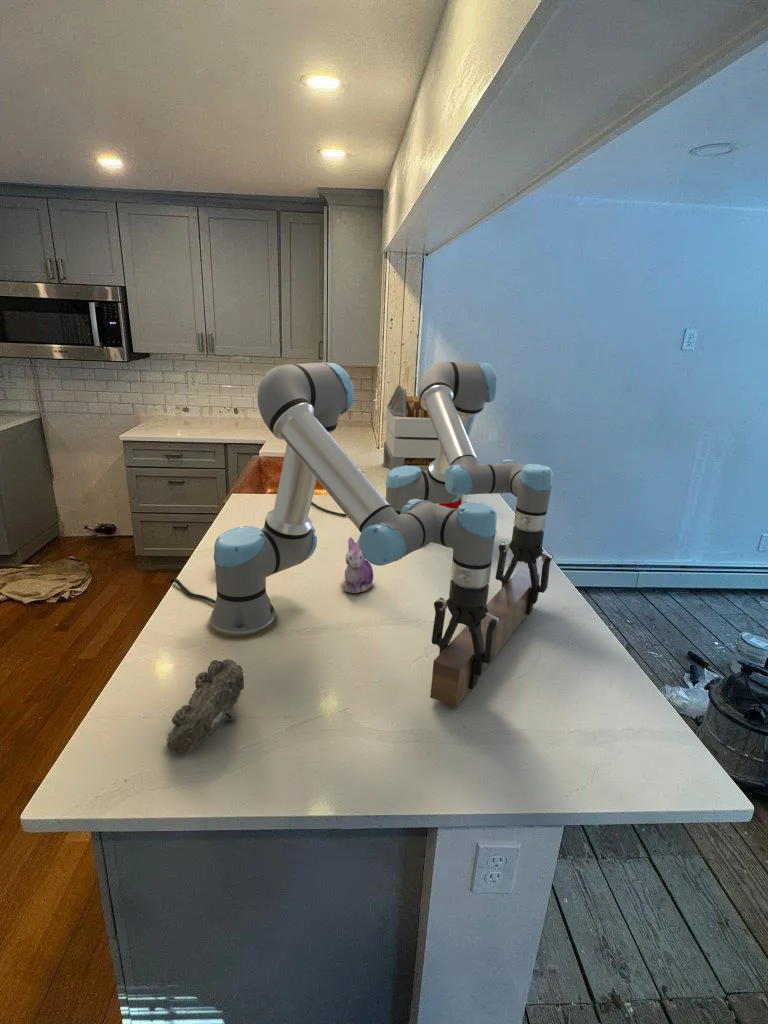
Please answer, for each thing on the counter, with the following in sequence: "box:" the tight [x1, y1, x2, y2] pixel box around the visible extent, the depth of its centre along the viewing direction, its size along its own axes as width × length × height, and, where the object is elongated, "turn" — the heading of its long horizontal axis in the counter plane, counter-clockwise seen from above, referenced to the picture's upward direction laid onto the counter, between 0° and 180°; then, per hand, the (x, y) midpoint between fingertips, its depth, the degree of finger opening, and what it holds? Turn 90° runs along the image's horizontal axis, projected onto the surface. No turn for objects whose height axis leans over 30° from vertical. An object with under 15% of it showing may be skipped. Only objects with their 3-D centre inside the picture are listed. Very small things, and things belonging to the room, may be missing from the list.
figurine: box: [343, 536, 374, 594], centre depth 158 cm, size 9×10×15 cm
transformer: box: [383, 384, 440, 471], centre depth 268 cm, size 34×33×41 cm
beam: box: [429, 567, 542, 708], centre depth 132 cm, size 52×6×9 cm, turn 149°
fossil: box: [166, 658, 245, 754], centre depth 106 cm, size 22×10×15 cm
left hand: (458, 680), depth 119 cm, fingers closed on beam, 6 cm apart
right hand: (517, 608), depth 149 cm, fingers closed on beam, 6 cm apart
